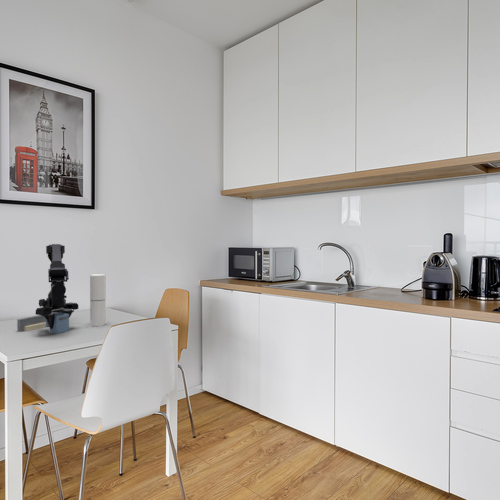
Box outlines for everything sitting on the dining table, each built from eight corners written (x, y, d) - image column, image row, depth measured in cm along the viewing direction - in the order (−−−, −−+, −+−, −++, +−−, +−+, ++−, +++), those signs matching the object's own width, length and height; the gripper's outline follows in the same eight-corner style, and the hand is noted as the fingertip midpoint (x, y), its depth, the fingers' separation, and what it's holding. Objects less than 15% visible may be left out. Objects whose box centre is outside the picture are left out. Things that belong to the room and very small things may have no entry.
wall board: (55, 322, 199) (55, 312, 199) (60, 323, 197) (60, 312, 197) (17, 331, 181) (17, 319, 181) (22, 332, 179) (22, 320, 179)
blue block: (58, 329, 185) (58, 312, 185) (70, 331, 182) (70, 314, 182) (45, 332, 180) (45, 314, 179) (58, 334, 176) (58, 316, 176)
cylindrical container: (91, 326, 191) (91, 275, 190) (88, 324, 197) (88, 274, 196) (107, 325, 195) (107, 275, 194) (103, 322, 201) (103, 274, 200)
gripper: (62, 290, 192) (63, 321, 193) (27, 295, 175) (27, 329, 176) (79, 291, 187) (79, 324, 188) (44, 296, 171) (44, 332, 171)
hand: (57, 327), depth 181 cm, fingers closed on blue block, 6 cm apart
